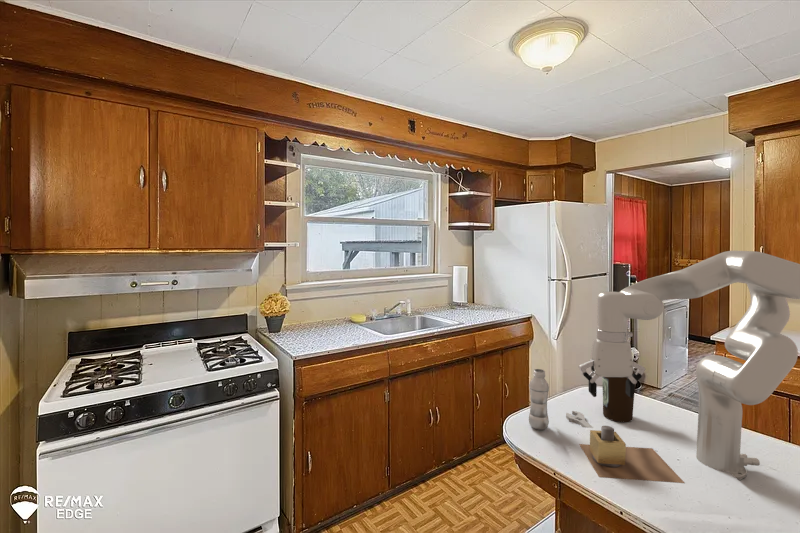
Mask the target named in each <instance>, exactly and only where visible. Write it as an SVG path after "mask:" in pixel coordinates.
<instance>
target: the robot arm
mask: <svg viewBox="0 0 800 533" xmlns="http://www.w3.org/2000/svg"><path fill="white" fill-rule="evenodd" d="M737 283H741V284H745V285H747V289H748V291H749V295H750V304H749V306H748V308H747V310H746V311H745V313H744V314H743V315H742V317H741V318H740V320H739V321H738V322H737V323H736V324H735V326H734V327H733V328H732V329H731V330H730V332H729V333H728V335H727V336H726V338H725V340H724V347H725V350H727V352H728V353H730V355H732V356H734V357H736V358H739V359H741V360H744V361H745V362H744V363H742V362H740V361H737V360H734V359H732V358H728V357H726V356H723V355H718V354H710V355H707V356H705V357H703V358H701V359H700V360H699V361H698V363H697V365H696V370H695V375H696V381H697V382H696V383H697V389H698V413H697V430H696V431H697V435H696V436H697V437H696V452H695V453H696V454H695V457H696V460H698V462H699V463H701V464H702V465H704V466H706V467H708V468H711V469H713V470H717V471H721V472H725V473H726V472H727V473H729V474H731V475H732V477H734V478H735V479H736V480H742V479H744V478H747V475H748V474H747V472H748V470H747V468H746V467H747V466H760V465H761V463H760V459H759V458H757V457H748V455H747V454H746V453H741V444H742V442H741V441H742V440H741V439H742V427H743V426H742V424H743V405H742V404H744V405H747V406H754V405H758V404H761V403H763V402H765V401H766V400H767V399H768V398H769V397H770V396H771V395H772V394H773V393H774V391H775V390H776V389H777V388H778V387H779V385H780V384H782V382H783V380H784V379H785V378H786V377H787V376H788V374H789V373H790V372H791V371H792V369H793V368H794V366H795V365H796V363H797V361H798V357H799V352H798V351H799V350H798V346H797V345H796V343H795V342H794V341H793V340H792V339H791V337H788V336H786V335H785V334H783V333H782V332H783V330H784V328H785V327H786V325H787V324H788V322H789V320H790V317H791V316H790V315H791V313H790V312H791V311H790V307H789V303H788V300H787V299H792V300H800V263H798V262H794V261H792V260H787V259H785V258H781V257H778V256H775V255H772V254H768V253H765V252H760V251H756V250H755V251H754V250H753V251H752V250H728V251H723V252H720V253H718V254H715V255H713V256H710V257H708V258H705V259H703V260H701V261H698V262H696V263H694V264H692V265H690V266H687V267H685V268H682V269H679V270H675V271H672V272H668V273H664V274H661V275H656V276H653V277H649V278H647V279H643V280H640V281H638V282H636V283H633V284H630V285H629V286H626V287H625V288H623V289H621V290H620V291H602V292H600V293H598V295H597V298H596V299H597V303H596V304H597V305H596V306H597V308H596V309H597V310H596V312H597V315H596V319H597V320H596V324H597V326H596V338H594V339H593V340H592V346H591V352H590V360H588V361H585V362H584V363H581V364H579V365H578V368H579V370H580V372H581V375H582V376H584V377H585V378H586V379H587V380H588V392H589V393H590V395H591V396H592V397H593V398H596V397H597V392H598V391H597V388H598V387H597V382H596V381H597V380H598V379H599V378H600V377H601V378H602V377H626V378H627V379H628V380H626V394H627V395H628V396H629V397H630V398H633V394H634V395H635V392H636V391H635V390H636V384H637V383H638V381H639V380H640V379H641V378H642V377H643V374H644V373H645V372H646V368H645V367H644V366H643V365H640V364H639V363H637V362H635V361H634V360H633V351H632V347H631V342H630V341H629V338H633V335H634V334H633V332H632V331H629V330H628V329H629V328H628V325H629V322H628V320H629V319H634V320H640V321H650V320H655V319H657V318H659V317H660V316H661V315H662V314H663V312H664V309H665V308H664V307H665V306H664V302H663V301H668V300H689V299H690V300H692V299H698V298H701V297H703V296H706V295H708V294H711V293H713V292H715V291H718V290H720V289H722V288H725V287H728V286H730V285H732V284H737ZM588 369H590V371H591V372H590V373H588V371H587V370H588ZM634 369H637V370H636V372H635V371H634V372H635V373H634V374H633V370H634ZM632 374H633V375H632Z"/></svg>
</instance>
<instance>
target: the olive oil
mask: <svg viewBox="0 0 800 533" xmlns="http://www.w3.org/2000/svg"><path fill="white" fill-rule="evenodd" d="M634 373H635V370H634V369H633V374H634ZM633 374H632V375H633ZM601 379H602V380H601V383H602V385H601V386H602V414H603V417H605V418H606V419H608V420H610V421H613V422H616V423H631V422H632V421H633V417H634V416H633V415H634V404H635V403H634V401H635V393H634V394H633V398H630V397H629V396H628V395H627V394H626V380H628V379H627V378H626V377H601Z"/></svg>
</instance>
